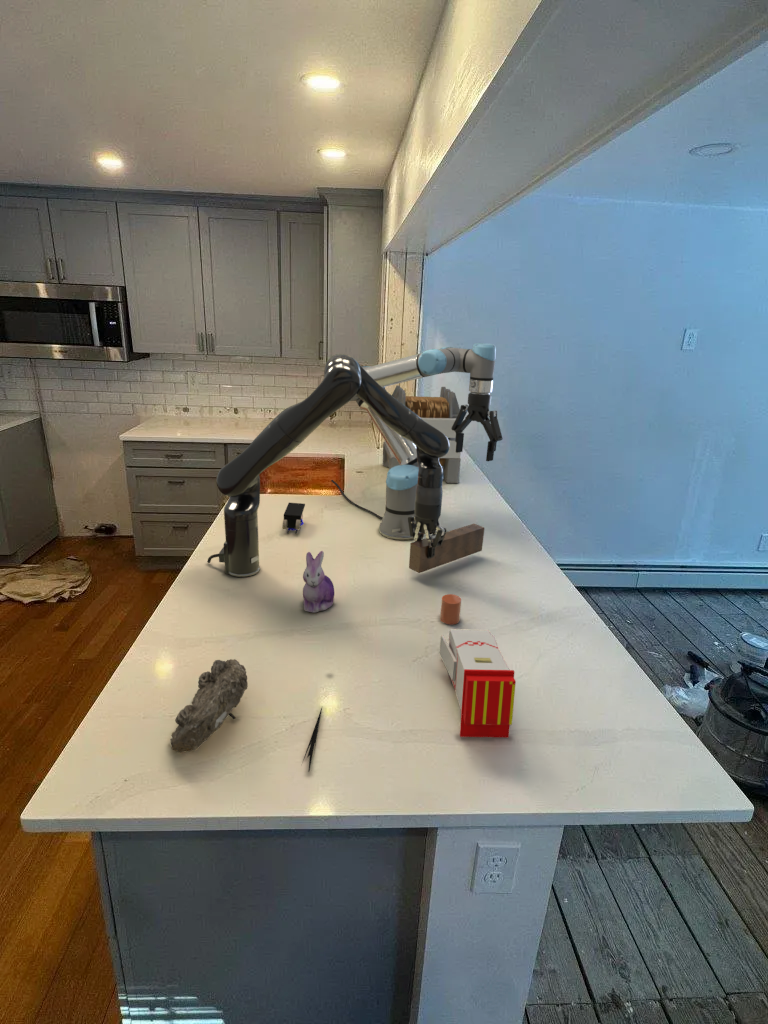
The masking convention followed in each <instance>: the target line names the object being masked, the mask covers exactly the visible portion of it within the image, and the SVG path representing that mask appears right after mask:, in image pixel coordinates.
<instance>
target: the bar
mask: <svg viewBox="0 0 768 1024" xmlns="http://www.w3.org/2000/svg"><path fill="white" fill-rule="evenodd" d="M484 535H485V527H484V526H482V525H479V524H476V523H471V524H467V525H465V526H461V527H458V528H454V529H452V530H449V531H446V534H445V537H444V540H443V542H442V545H441V546H438V547H436V548H435V556H434V557H433V558H431V559H428V558H427V551H428V547H429V546H428V540H427V539H426V537H425V538H423V539H421V540H419V541H416V542H415V541H413V542H410V547H409V558H408V559H409V561H408V568H409V569H410V570H412V571H414V572H416V573H418V574H421V573H424V572H427V571H430V570H433V569H435V568H438V567H440V566H443V565H446V564H449V563H452V562H454V561H457V560H461V559H462V558H463V559H464V558H465V557H469V556H471V555H474V554H476V553H480V552H482V551H483V546H484V545H483V544H484ZM432 542H433V540H432Z"/></svg>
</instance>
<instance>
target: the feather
mask: <svg viewBox="0 0 768 1024" xmlns="http://www.w3.org/2000/svg"><path fill="white" fill-rule="evenodd" d="M329 675H330V676H331V675H332V674H331V673H330V674H329ZM322 710H323V707H321V708H320V710H319V713H318V716H317V719H316V723H315V725H314V728H313V731H312V733H311V737H310V739H309V742H308V745H307V748H306V751H305V754H304V757H303V760H302V763H301V767H302V765H303V763H304V761H305V758H308V759H309V760H308V762H307V763H308V764H307V766H308V771H310V770H311V766H312V765H311V764H312V760H313V757H315V756H314V755H315V751H316V749H315V746H317V739H318V733H319V729H320V722H321V717H322V712H323V711H322ZM313 754H314V755H313ZM306 755H307V757H306Z"/></svg>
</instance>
